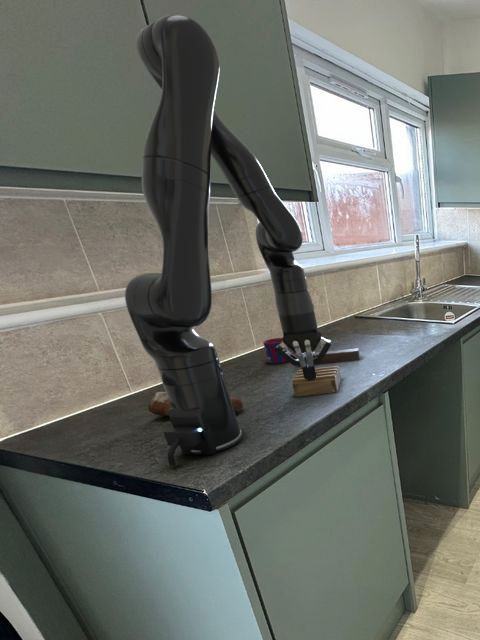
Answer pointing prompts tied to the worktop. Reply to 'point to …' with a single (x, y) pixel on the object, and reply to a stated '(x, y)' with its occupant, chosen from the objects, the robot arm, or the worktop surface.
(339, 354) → the stop rail
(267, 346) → the mug
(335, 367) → the rack
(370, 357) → the worktop surface
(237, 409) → the bread
